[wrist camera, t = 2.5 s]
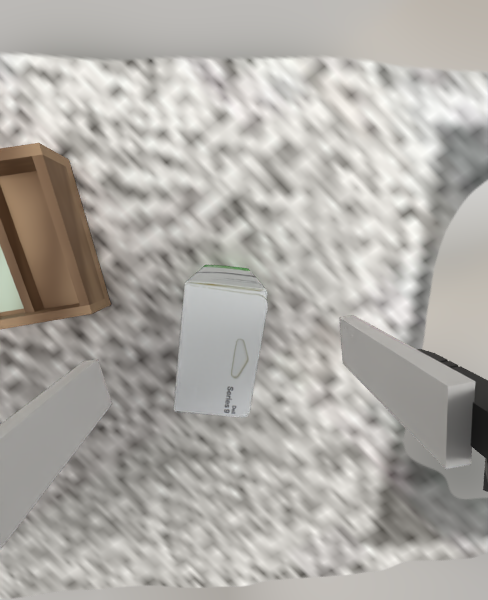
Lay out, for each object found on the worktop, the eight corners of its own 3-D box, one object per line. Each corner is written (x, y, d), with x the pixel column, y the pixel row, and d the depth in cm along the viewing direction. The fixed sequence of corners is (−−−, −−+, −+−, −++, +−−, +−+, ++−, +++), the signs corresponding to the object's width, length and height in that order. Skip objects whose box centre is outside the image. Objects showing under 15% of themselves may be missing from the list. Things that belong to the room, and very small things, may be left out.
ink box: (203, 262, 24) (180, 275, 13) (251, 268, 25) (272, 285, 13) (195, 342, 26) (170, 417, 14) (241, 346, 26) (251, 422, 15)
